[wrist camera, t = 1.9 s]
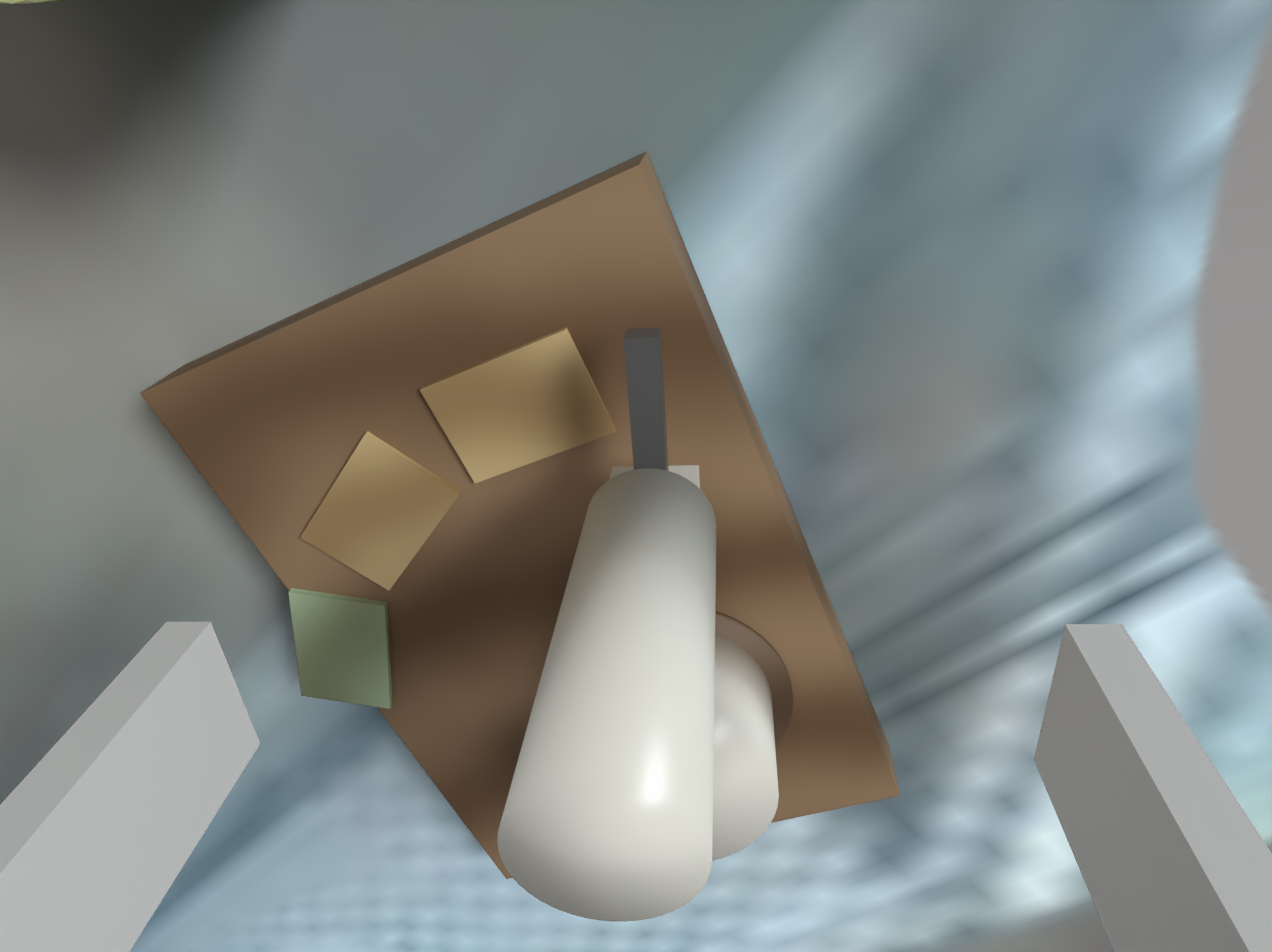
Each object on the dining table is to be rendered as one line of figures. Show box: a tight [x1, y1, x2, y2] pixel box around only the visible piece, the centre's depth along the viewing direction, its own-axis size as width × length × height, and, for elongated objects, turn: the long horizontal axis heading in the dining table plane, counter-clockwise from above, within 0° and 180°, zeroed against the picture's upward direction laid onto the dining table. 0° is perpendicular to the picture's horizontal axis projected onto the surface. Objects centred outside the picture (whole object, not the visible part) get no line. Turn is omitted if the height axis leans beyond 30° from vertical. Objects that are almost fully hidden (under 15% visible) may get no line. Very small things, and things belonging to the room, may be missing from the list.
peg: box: [497, 328, 779, 921], centre depth 17 cm, size 15×6×11 cm, turn 4°
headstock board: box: [140, 152, 900, 879], centre depth 24 cm, size 20×16×2 cm
